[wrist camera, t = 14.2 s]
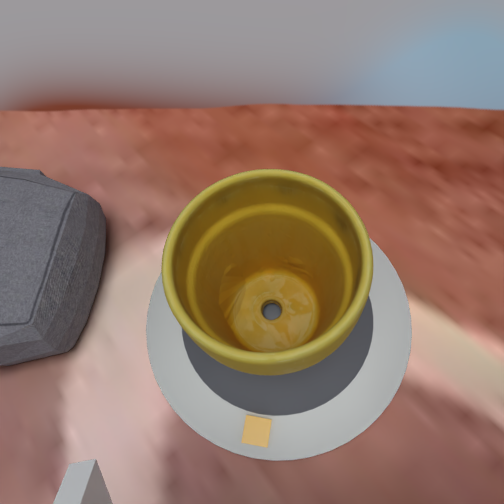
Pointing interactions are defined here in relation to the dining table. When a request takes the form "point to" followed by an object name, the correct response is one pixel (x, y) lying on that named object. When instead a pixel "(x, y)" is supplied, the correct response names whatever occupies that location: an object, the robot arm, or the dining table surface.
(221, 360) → the plant pot
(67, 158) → the dining table surface
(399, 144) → the dining table surface
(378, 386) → the base
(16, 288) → the soft grey pack
